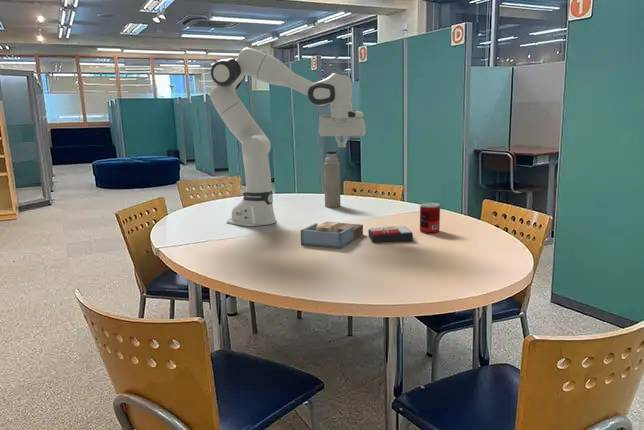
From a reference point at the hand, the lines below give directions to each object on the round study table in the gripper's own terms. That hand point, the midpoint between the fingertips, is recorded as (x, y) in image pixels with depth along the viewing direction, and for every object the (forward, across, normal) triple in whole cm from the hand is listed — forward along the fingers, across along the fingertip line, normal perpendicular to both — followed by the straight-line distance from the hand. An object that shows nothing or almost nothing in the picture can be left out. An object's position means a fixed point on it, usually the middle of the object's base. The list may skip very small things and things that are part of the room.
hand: (341, 147), depth 209 cm
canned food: (+33, +38, -1) cm, 51 cm away
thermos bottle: (+33, -21, +35) cm, 53 cm away
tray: (+33, +7, -31) cm, 46 cm away
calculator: (+34, +27, -17) cm, 46 cm away
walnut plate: (+33, +7, -20) cm, 39 cm away
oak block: (+29, +7, -26) cm, 40 cm away
